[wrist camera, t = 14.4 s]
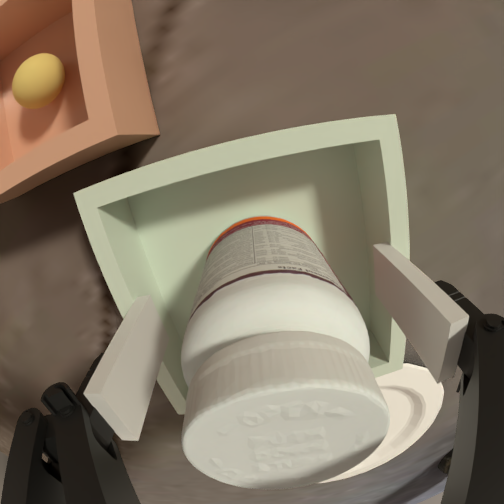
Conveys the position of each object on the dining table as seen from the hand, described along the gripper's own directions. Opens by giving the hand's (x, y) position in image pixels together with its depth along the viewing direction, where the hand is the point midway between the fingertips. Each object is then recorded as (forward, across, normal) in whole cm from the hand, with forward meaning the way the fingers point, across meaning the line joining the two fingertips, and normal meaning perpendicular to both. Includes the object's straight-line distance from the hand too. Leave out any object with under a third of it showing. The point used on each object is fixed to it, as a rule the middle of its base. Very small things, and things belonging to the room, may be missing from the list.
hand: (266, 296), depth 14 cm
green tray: (+3, 0, 0) cm, 3 cm away
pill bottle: (+3, 0, 0) cm, 3 cm away
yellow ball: (+3, -9, +14) cm, 17 cm away
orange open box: (+3, -9, +14) cm, 17 cm away
